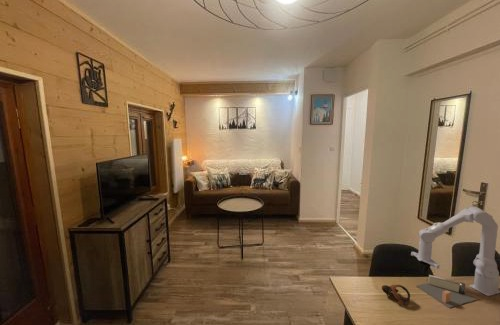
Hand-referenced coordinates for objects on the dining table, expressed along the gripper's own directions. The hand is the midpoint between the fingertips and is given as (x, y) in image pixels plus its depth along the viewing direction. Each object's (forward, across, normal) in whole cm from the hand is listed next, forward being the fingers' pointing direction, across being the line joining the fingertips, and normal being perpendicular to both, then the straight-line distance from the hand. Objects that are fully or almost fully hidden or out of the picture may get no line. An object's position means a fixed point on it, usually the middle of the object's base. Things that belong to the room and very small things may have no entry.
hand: (423, 273), depth 126 cm
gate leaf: (+2, +9, +1) cm, 10 cm away
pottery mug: (+3, +8, -28) cm, 30 cm away
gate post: (+3, +15, +6) cm, 16 cm away
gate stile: (+3, +17, -7) cm, 18 cm away
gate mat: (+3, +12, -1) cm, 12 cm away
